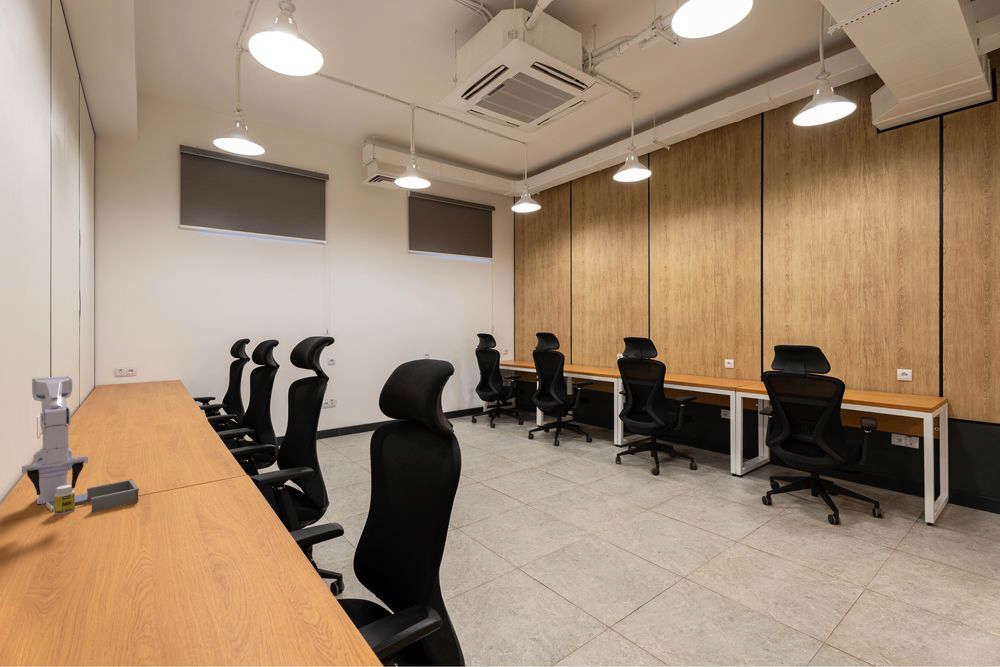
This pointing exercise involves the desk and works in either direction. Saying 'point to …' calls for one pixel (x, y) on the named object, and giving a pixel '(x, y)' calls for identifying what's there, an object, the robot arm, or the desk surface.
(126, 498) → the grey open boxy piece
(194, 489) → the desk surface
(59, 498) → the supplement bottle
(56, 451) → the robot arm
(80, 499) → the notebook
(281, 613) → the desk surface
